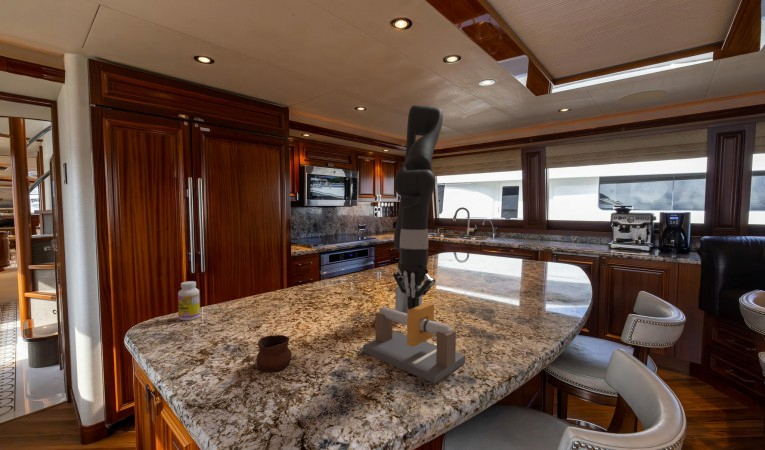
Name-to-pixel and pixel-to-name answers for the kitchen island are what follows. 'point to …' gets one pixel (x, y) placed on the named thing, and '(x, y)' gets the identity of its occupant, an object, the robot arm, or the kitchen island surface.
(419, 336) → the orange square ring
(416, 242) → the robot arm
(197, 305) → the supplement bottle
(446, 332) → the pipe stand
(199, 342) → the kitchen island surface
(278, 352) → the ceramic pot
